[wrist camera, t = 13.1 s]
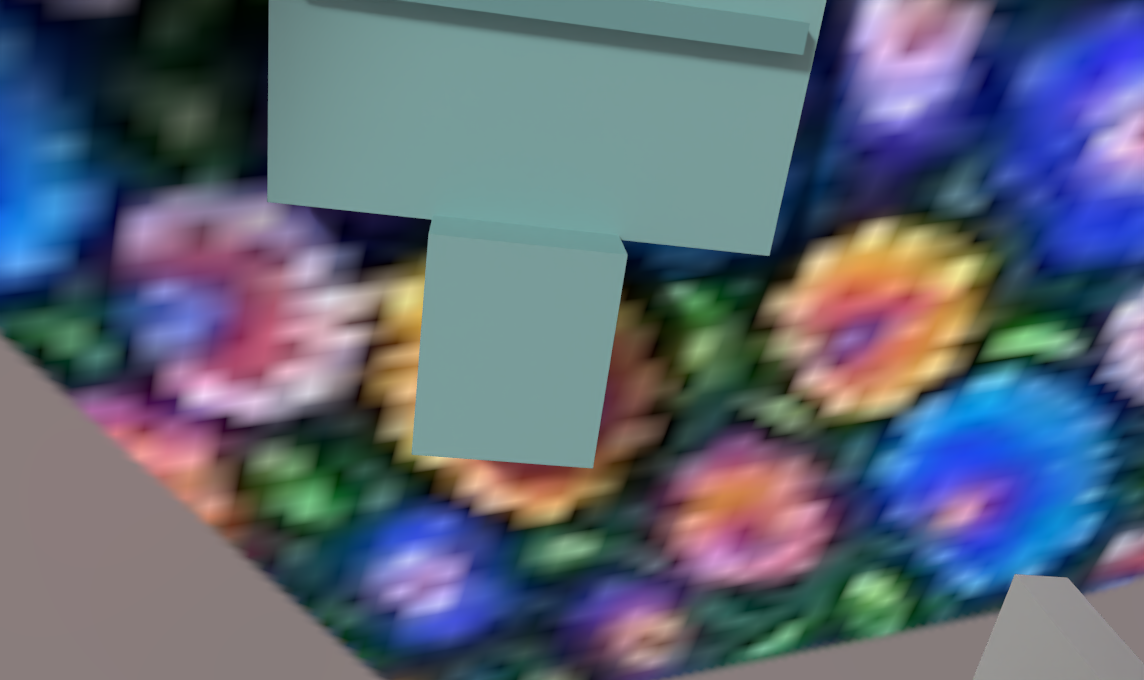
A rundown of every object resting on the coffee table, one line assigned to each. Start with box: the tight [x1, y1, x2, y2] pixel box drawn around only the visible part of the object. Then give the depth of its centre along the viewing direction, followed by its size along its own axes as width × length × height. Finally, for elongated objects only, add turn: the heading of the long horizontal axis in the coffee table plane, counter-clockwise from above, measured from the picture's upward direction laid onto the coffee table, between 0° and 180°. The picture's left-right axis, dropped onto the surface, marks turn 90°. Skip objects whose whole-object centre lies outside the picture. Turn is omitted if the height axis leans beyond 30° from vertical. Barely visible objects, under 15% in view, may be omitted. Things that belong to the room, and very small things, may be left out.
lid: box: [267, 0, 826, 468], centre depth 18 cm, size 19×11×3 cm, turn 172°
